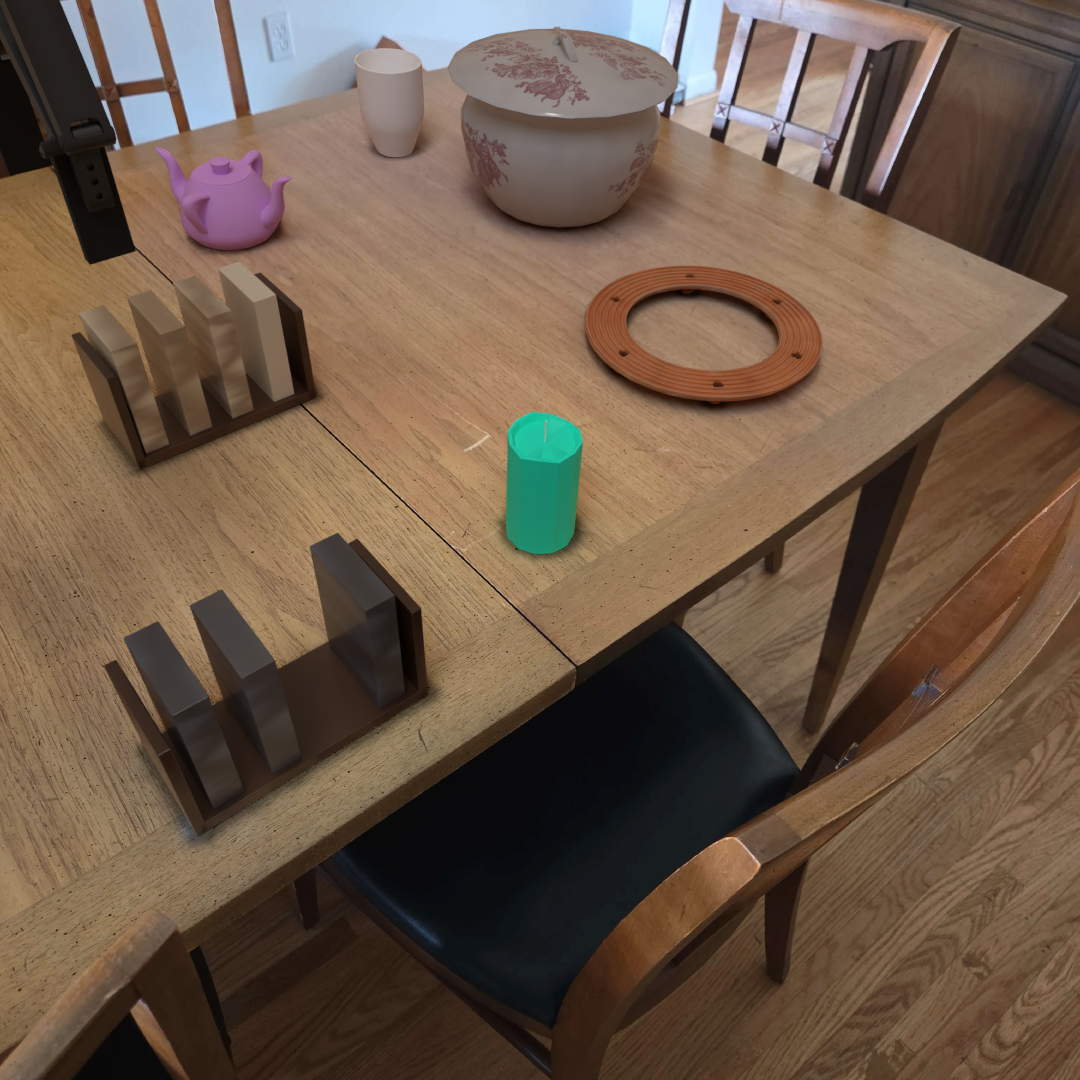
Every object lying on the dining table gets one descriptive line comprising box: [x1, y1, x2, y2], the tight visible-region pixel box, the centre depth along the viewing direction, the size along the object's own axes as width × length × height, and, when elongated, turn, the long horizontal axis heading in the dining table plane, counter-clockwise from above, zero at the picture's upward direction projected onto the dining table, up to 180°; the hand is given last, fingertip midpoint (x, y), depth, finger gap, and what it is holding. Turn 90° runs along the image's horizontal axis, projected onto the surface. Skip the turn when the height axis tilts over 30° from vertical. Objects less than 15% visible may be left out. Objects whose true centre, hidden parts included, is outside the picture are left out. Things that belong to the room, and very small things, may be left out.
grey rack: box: [103, 532, 429, 837], centre depth 62 cm, size 18×8×12 cm, turn 129°
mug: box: [353, 47, 425, 158], centre depth 128 cm, size 12×9×12 cm
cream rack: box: [71, 271, 317, 471], centre depth 85 cm, size 18×8×12 cm, turn 129°
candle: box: [505, 411, 584, 555], centre depth 76 cm, size 6×6×12 cm
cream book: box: [217, 261, 294, 402], centre depth 88 cm, size 2×7×11 cm, turn 39°
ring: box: [583, 264, 824, 405], centre depth 100 cm, size 25×25×2 cm
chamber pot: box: [447, 26, 679, 228], centre depth 115 cm, size 28×28×21 cm
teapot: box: [154, 146, 293, 251], centre depth 110 cm, size 12×14×9 cm
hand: (68, 210), depth 58 cm, fingers open, 13 cm apart
